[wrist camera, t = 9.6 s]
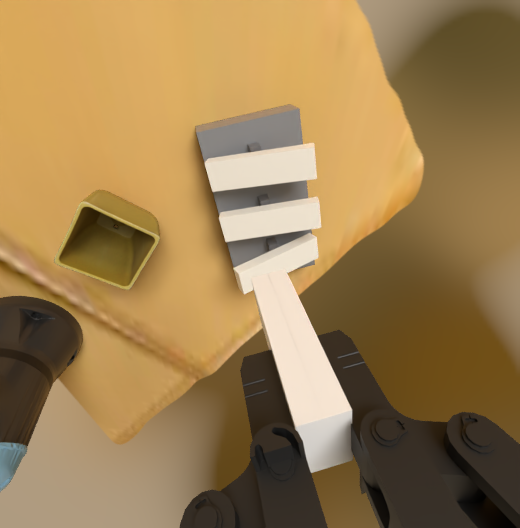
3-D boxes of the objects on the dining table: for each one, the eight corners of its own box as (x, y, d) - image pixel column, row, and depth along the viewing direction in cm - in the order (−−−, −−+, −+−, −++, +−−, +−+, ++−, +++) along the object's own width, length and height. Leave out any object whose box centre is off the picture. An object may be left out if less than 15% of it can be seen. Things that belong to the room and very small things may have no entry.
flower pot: (138, 255, 47) (128, 292, 39) (75, 228, 43) (51, 264, 36) (166, 207, 44) (161, 237, 36) (101, 173, 40) (81, 199, 32)
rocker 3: (238, 288, 43) (244, 294, 41) (233, 268, 41) (238, 273, 40) (311, 253, 46) (318, 257, 45) (309, 232, 44) (316, 237, 43)
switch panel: (235, 269, 51) (240, 292, 46) (195, 126, 39) (196, 136, 34) (306, 251, 52) (319, 271, 47) (289, 104, 40) (304, 111, 35)
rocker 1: (215, 186, 38) (212, 191, 37) (208, 158, 37) (204, 163, 35) (316, 173, 36) (316, 178, 35) (314, 142, 34) (314, 147, 33)
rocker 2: (226, 235, 42) (225, 242, 40) (220, 212, 40) (218, 218, 38) (319, 221, 40) (321, 227, 39) (317, 196, 38) (319, 202, 37)
